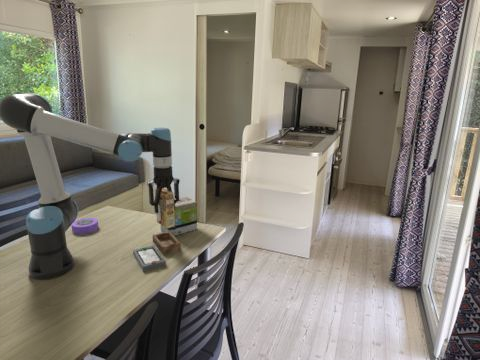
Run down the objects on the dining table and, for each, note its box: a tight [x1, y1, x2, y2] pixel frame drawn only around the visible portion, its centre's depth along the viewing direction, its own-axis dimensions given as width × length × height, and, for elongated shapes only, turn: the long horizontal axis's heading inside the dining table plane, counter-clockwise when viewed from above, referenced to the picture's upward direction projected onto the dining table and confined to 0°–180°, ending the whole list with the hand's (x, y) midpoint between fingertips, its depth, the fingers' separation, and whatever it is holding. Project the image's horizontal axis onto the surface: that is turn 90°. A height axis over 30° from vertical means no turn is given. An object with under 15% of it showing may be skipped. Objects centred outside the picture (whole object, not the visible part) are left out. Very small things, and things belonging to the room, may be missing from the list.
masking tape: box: [71, 217, 99, 235], centre depth 161 cm, size 12×12×4 cm
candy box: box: [154, 188, 175, 228], centre depth 142 cm, size 9×4×15 cm, turn 43°
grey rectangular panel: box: [138, 249, 160, 264], centre depth 135 cm, size 6×11×1 cm, turn 31°
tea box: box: [160, 196, 198, 237], centre depth 161 cm, size 15×10×15 cm, turn 129°
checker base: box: [132, 244, 167, 272], centre depth 135 cm, size 9×15×3 cm, turn 31°
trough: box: [152, 231, 182, 256], centre depth 146 cm, size 8×14×4 cm, turn 31°
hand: (165, 218), depth 143 cm, fingers closed on candy box, 5 cm apart
